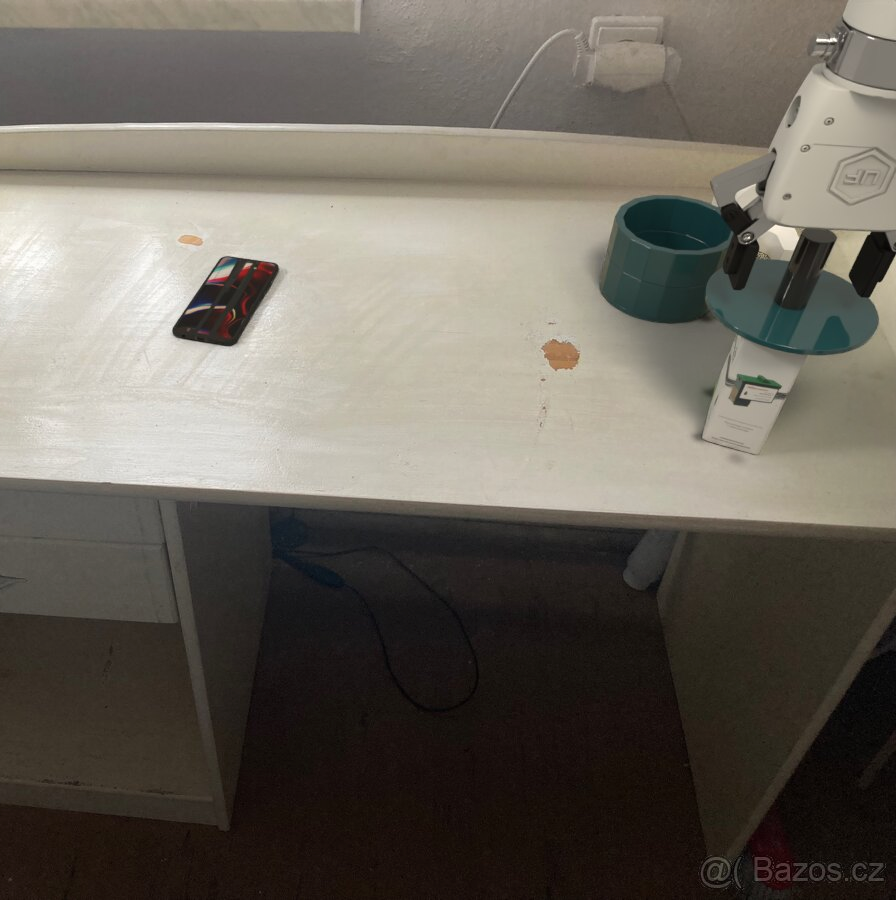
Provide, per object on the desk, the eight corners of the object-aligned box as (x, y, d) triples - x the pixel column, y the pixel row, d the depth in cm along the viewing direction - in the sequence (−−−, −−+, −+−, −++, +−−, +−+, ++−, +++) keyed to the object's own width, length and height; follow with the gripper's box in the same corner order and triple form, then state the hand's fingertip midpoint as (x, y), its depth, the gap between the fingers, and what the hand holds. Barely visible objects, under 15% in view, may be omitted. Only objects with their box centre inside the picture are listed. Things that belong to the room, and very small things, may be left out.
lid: (883, 287, 71) (920, 215, 66) (868, 374, 63) (909, 300, 58) (720, 250, 75) (745, 181, 71) (689, 327, 68) (714, 255, 63)
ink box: (714, 383, 81) (757, 274, 72) (772, 397, 79) (822, 288, 71) (699, 440, 75) (744, 331, 67) (761, 457, 74) (814, 347, 65)
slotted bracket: (796, 271, 93) (824, 206, 88) (728, 268, 94) (752, 203, 89) (769, 211, 102) (792, 148, 97) (707, 209, 103) (727, 146, 98)
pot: (724, 276, 93) (748, 209, 87) (702, 334, 86) (727, 265, 80) (615, 251, 97) (632, 186, 92) (586, 305, 90) (602, 237, 85)
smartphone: (169, 331, 88) (221, 254, 98) (169, 337, 89) (222, 259, 99) (234, 342, 87) (281, 263, 97) (235, 348, 87) (281, 268, 97)
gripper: (763, 73, 54) (686, 304, 66) (1074, 81, 51) (933, 319, 63) (740, 31, 59) (672, 252, 71) (1020, 35, 57) (900, 264, 69)
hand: (795, 283), depth 67 cm, fingers open, 8 cm apart
